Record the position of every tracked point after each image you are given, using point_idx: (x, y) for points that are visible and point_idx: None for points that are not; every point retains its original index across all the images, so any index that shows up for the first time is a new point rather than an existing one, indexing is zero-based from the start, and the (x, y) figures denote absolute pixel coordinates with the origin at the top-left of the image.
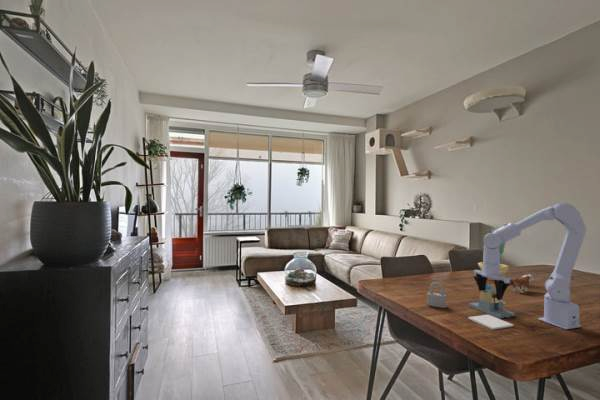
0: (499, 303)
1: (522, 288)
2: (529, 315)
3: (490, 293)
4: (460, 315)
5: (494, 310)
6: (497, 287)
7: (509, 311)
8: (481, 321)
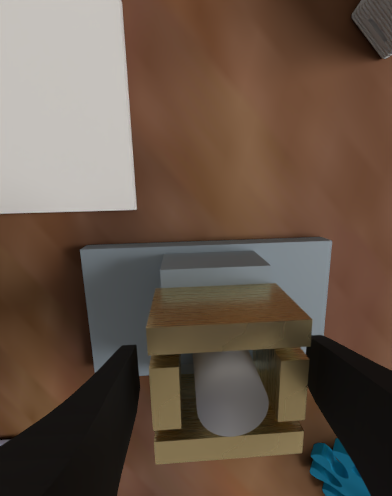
0: None
1: None
2: None
3: (183, 344)
4: (194, 4)
5: None
6: (42, 440)
7: None
8: (24, 26)
